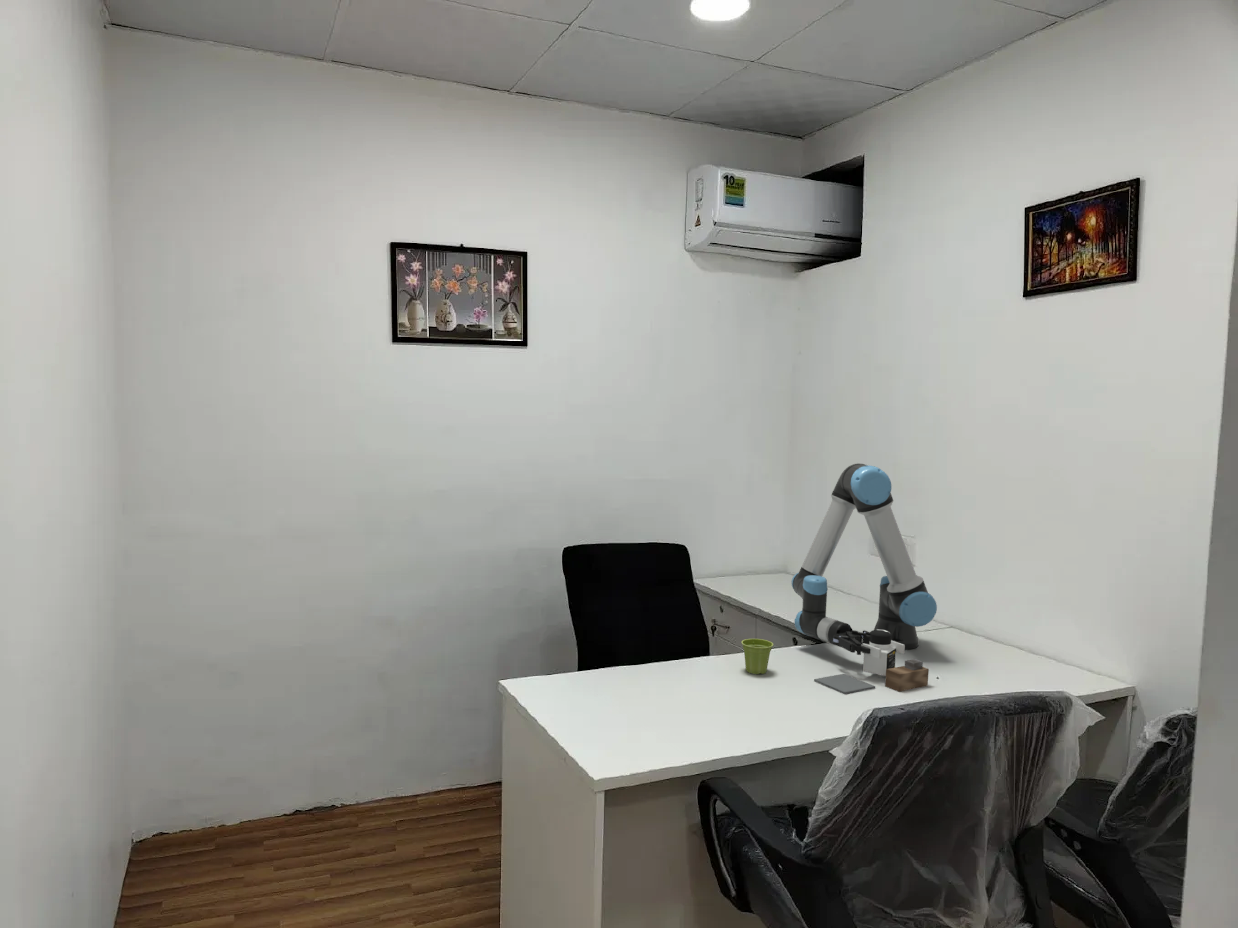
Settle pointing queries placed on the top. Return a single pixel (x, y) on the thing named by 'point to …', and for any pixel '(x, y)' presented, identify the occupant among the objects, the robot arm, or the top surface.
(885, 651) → the medicine bottle
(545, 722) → the top surface
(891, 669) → the plane body block
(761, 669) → the plant pot
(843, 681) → the mat
